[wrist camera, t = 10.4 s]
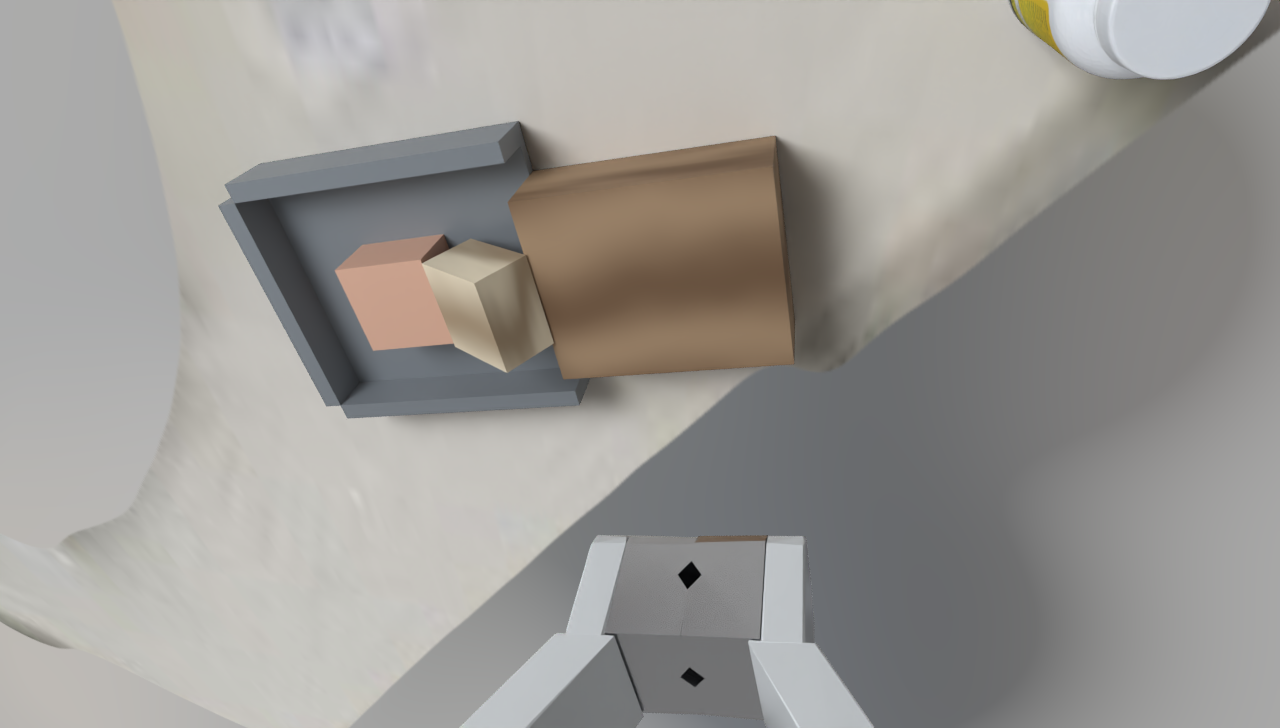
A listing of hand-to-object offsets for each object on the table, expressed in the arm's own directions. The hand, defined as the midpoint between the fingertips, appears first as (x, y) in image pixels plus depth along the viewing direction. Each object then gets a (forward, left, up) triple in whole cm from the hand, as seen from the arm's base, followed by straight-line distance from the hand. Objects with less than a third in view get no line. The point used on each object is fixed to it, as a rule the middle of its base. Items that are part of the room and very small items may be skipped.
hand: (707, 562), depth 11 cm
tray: (+8, -20, -27) cm, 34 cm away
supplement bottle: (-2, +12, -28) cm, 30 cm away
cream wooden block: (+8, -14, -25) cm, 29 cm away
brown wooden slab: (+8, -6, -27) cm, 29 cm away
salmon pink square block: (+8, -20, -24) cm, 32 cm away
